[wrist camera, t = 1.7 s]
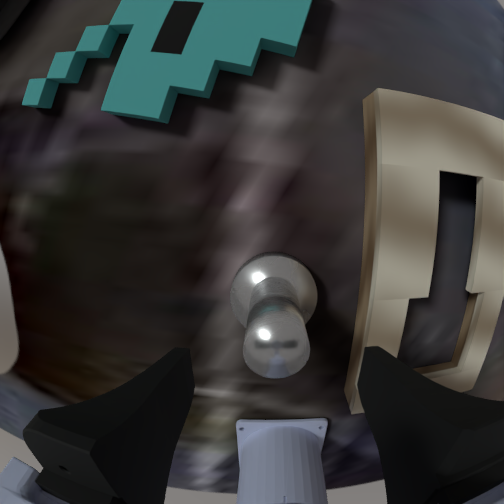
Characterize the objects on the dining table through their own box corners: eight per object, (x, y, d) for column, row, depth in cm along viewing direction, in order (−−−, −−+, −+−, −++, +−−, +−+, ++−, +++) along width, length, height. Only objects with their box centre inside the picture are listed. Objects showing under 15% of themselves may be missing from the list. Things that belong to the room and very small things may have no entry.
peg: (312, 327, 20) (330, 395, 13) (233, 328, 21) (218, 396, 13) (316, 251, 19) (344, 293, 12) (230, 251, 19) (209, 294, 12)
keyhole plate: (457, 371, 21) (472, 389, 18) (343, 390, 22) (351, 414, 19) (491, 127, 16) (514, 124, 13) (362, 100, 17) (377, 87, 14)
